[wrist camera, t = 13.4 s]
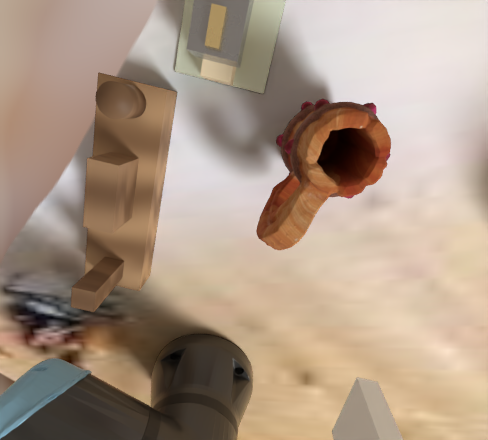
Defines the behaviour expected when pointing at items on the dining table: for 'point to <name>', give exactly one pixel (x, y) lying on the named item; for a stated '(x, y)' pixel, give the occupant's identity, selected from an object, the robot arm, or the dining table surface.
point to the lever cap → (219, 30)
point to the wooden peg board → (123, 186)
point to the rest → (254, 55)
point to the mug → (322, 165)
